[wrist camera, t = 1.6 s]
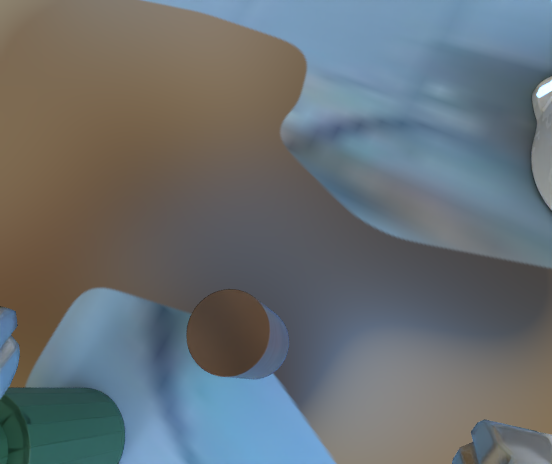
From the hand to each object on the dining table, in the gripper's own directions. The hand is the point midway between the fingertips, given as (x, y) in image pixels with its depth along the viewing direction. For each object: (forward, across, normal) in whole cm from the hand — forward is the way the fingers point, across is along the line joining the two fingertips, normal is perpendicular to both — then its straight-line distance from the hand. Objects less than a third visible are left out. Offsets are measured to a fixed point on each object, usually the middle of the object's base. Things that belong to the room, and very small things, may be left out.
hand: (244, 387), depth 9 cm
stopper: (+24, -2, +22) cm, 33 cm away
